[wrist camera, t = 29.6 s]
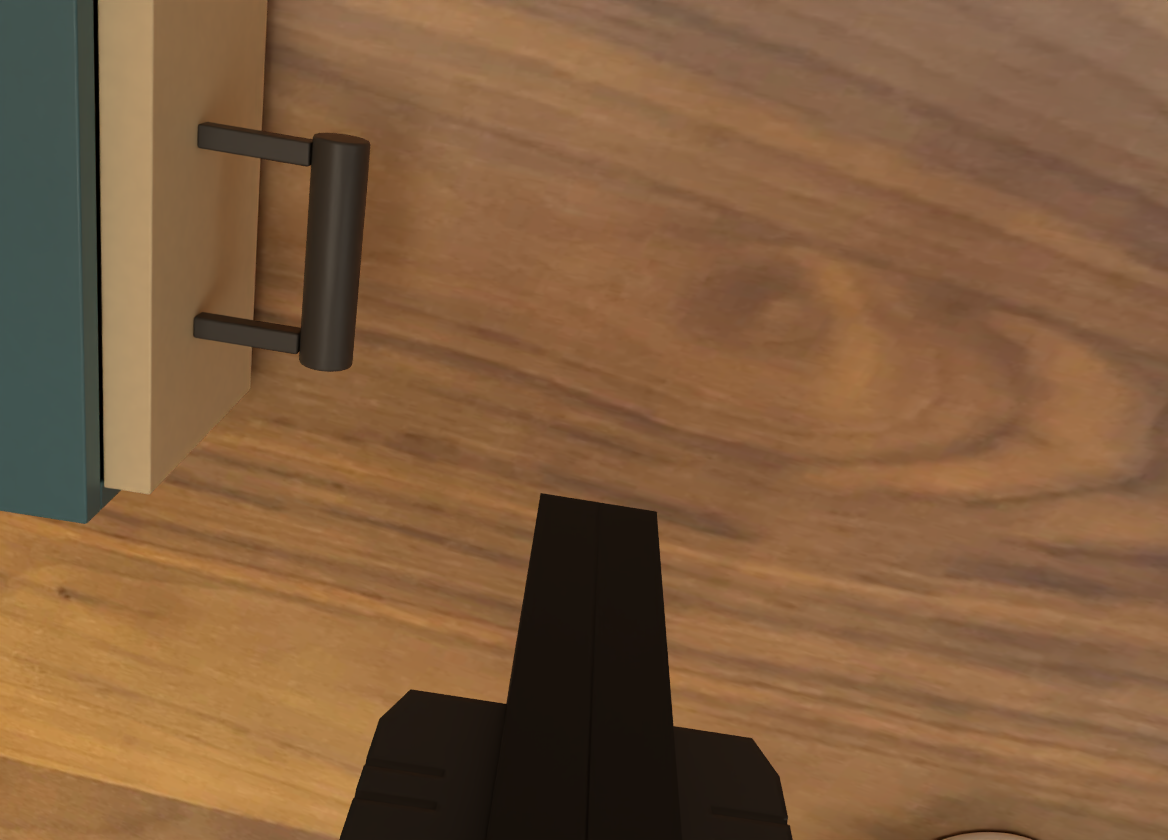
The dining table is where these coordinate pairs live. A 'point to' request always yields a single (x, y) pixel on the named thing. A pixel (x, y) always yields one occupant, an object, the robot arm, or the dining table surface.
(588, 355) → the dining table surface
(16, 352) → the cabinet
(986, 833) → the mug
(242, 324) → the drawer
